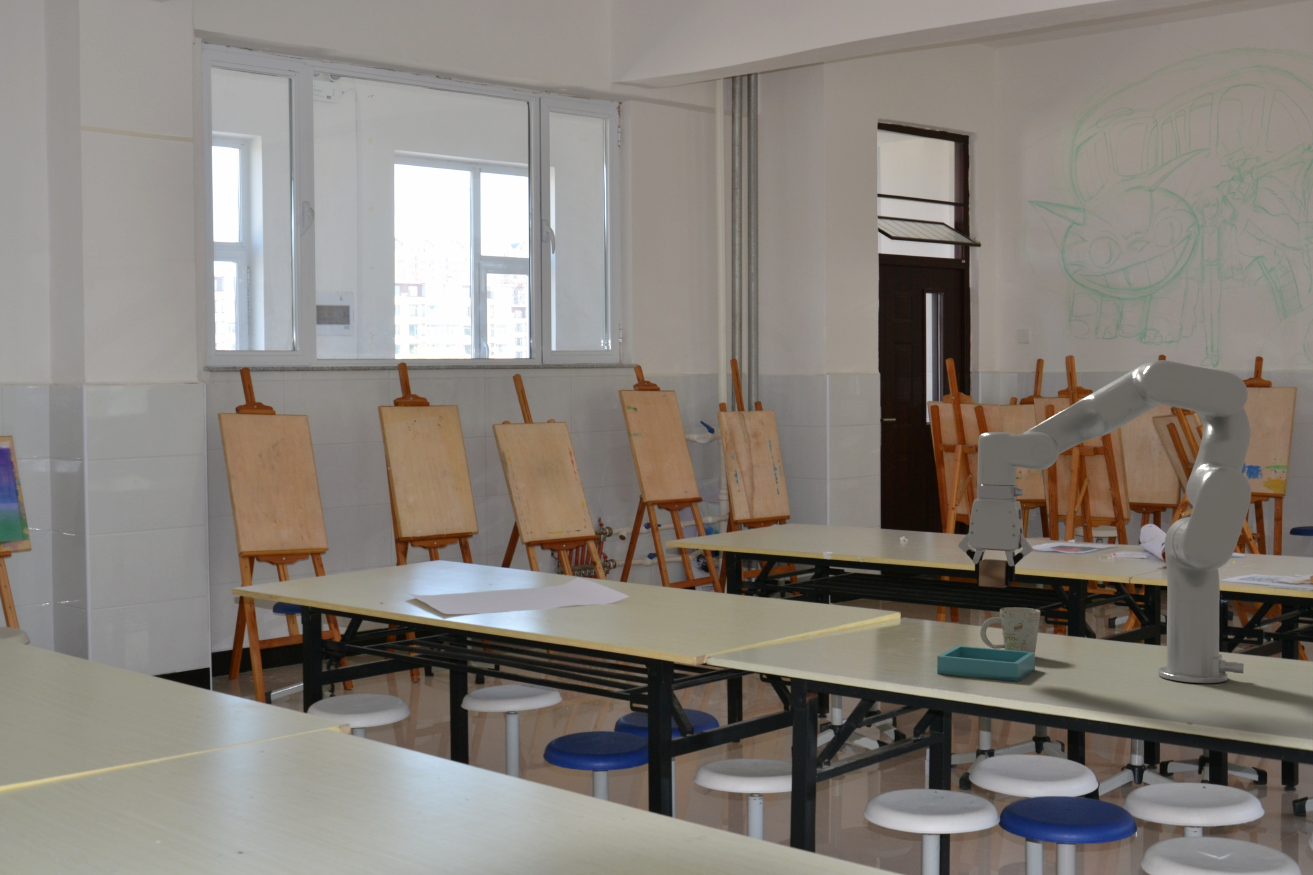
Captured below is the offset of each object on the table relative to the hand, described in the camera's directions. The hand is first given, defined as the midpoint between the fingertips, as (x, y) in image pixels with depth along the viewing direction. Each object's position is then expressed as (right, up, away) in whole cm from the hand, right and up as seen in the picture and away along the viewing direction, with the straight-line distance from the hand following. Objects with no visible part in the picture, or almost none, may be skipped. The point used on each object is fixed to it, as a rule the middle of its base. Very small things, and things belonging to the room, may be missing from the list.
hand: (994, 583), depth 257 cm
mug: (+8, -18, +18) cm, 26 cm away
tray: (-1, -18, +1) cm, 18 cm away
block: (0, -1, 0) cm, 1 cm away
